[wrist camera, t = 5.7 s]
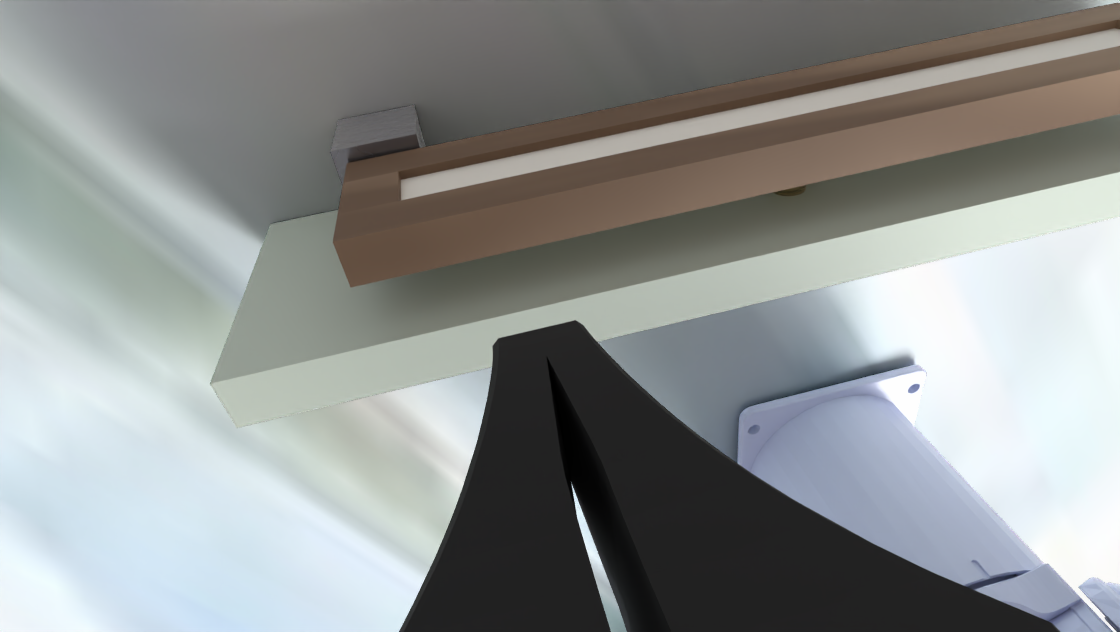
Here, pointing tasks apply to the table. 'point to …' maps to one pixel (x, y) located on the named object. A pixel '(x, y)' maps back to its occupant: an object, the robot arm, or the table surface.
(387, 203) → the grooved wooden rail
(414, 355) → the wall panel
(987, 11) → the table surface
